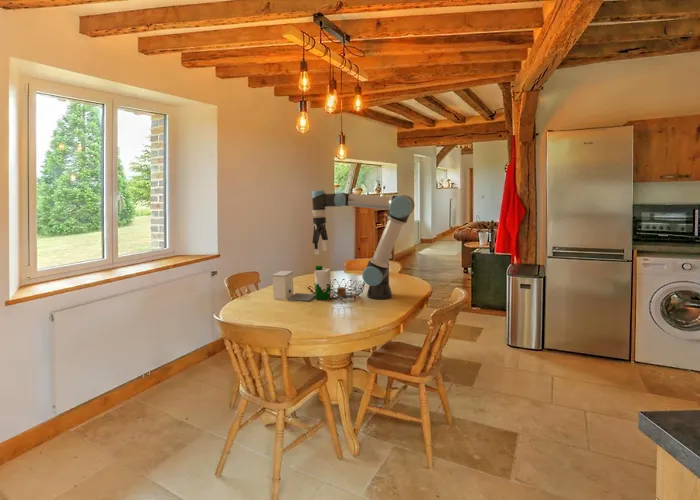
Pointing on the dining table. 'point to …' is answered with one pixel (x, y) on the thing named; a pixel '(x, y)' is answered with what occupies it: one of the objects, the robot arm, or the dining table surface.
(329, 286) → the soya milk
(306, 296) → the pad
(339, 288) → the walnut block
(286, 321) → the dining table surface
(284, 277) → the dispenser unit
